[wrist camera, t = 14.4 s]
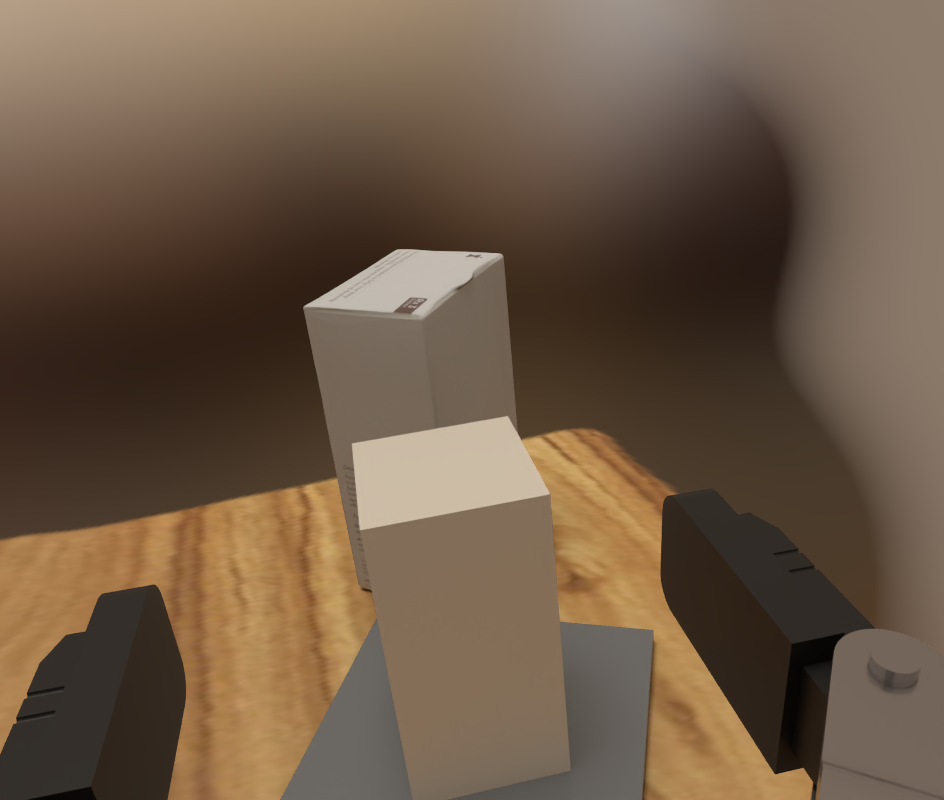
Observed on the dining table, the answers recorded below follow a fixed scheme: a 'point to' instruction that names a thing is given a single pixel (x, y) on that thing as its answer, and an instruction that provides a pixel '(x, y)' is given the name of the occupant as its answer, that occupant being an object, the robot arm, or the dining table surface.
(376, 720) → the post base
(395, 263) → the skincare box
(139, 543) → the dining table surface
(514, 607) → the tall blank white box
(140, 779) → the robot arm
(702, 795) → the dining table surface
